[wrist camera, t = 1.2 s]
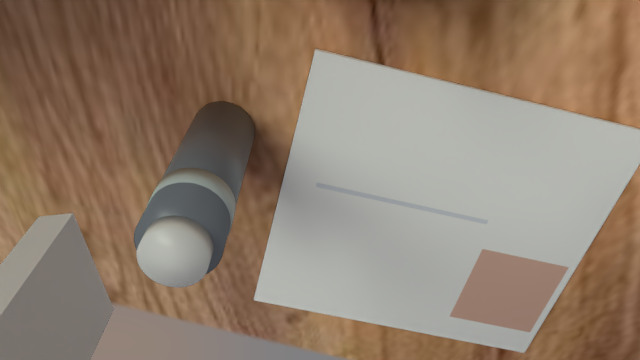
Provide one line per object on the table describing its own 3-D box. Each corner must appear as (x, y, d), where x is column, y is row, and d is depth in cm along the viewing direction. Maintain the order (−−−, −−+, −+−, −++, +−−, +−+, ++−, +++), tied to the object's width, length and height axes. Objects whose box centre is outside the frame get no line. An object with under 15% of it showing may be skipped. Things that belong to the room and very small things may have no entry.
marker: (187, 151, 33) (121, 285, 22) (196, 94, 31) (128, 211, 20) (249, 164, 33) (213, 303, 23) (261, 109, 31) (227, 231, 21)
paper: (254, 297, 38) (253, 300, 38) (315, 48, 29) (315, 49, 29) (523, 349, 40) (524, 353, 40) (654, 132, 32) (657, 134, 31)
